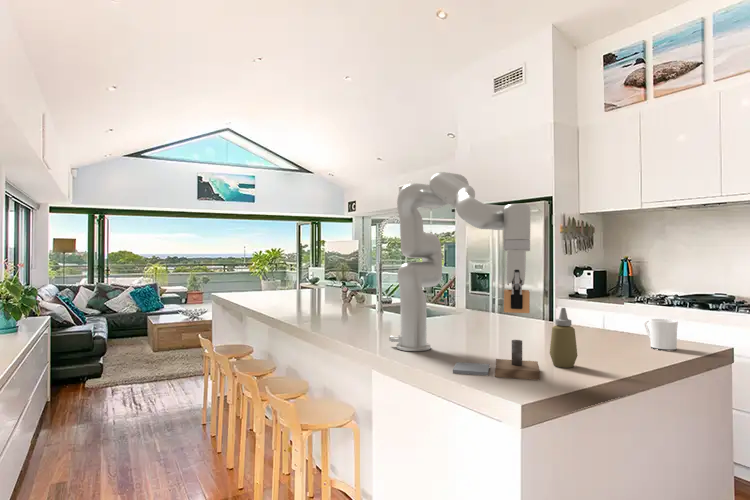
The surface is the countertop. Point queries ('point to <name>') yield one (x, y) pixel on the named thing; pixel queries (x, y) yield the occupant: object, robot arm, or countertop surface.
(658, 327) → the mug
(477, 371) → the pad
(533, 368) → the stand
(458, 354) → the countertop surface
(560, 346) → the squeeze bottle
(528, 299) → the collar
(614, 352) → the countertop surface
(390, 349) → the countertop surface
